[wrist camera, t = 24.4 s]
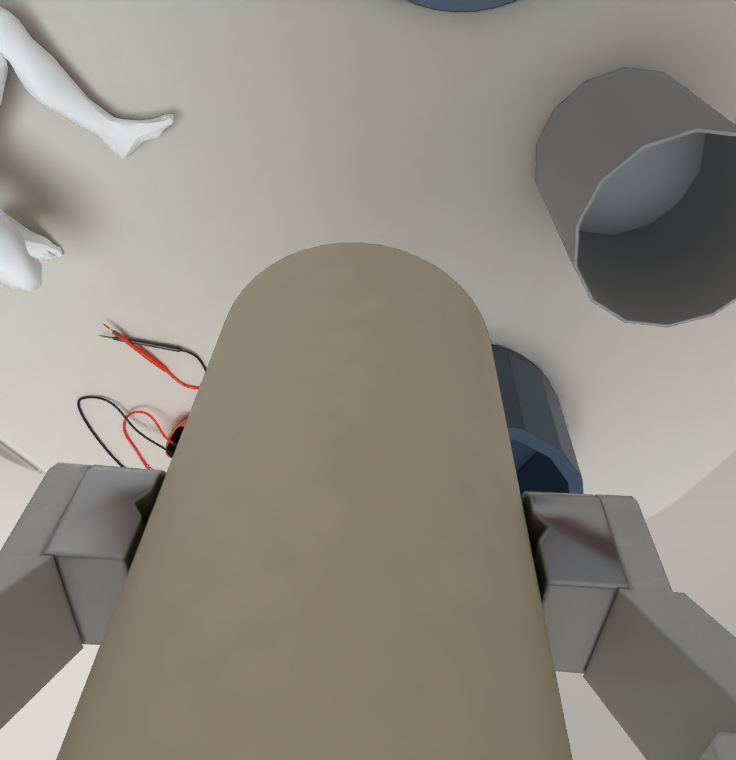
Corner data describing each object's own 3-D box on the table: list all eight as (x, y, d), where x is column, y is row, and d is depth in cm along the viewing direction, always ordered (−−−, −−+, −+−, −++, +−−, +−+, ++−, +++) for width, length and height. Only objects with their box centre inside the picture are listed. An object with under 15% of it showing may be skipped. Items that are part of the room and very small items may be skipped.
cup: (595, 260, 39) (645, 359, 31) (501, 156, 36) (531, 237, 28) (735, 154, 36) (834, 235, 27) (644, 28, 32) (726, 78, 24)
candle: (512, 250, 11) (711, 904, 4) (472, 471, 14) (547, 1081, 7) (209, 232, 11) (-119, 857, 4) (230, 457, 14) (60, 1053, 7)
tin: (549, 325, 42) (577, 407, 35) (564, 476, 49) (589, 567, 42) (346, 360, 44) (337, 444, 37) (388, 500, 51) (386, 590, 44)
